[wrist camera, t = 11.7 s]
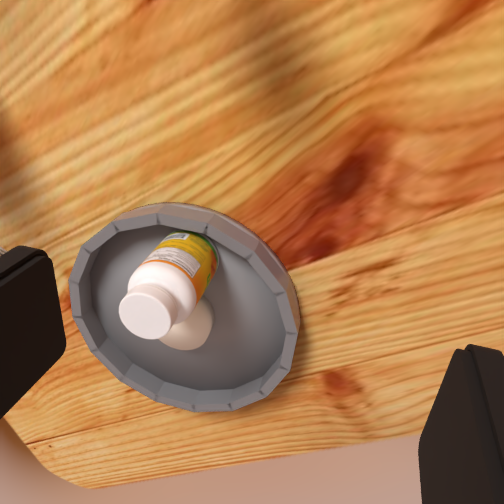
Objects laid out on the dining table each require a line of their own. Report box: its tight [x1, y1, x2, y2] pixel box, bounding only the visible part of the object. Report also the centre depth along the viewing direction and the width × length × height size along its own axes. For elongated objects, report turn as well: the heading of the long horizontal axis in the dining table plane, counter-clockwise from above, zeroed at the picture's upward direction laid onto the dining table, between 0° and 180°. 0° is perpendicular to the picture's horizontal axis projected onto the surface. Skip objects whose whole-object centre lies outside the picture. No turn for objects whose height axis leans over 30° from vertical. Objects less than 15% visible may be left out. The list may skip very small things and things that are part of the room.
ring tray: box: [69, 202, 301, 412], centre depth 42 cm, size 22×22×3 cm
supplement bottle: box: [119, 229, 219, 340], centre depth 35 cm, size 5×5×10 cm
